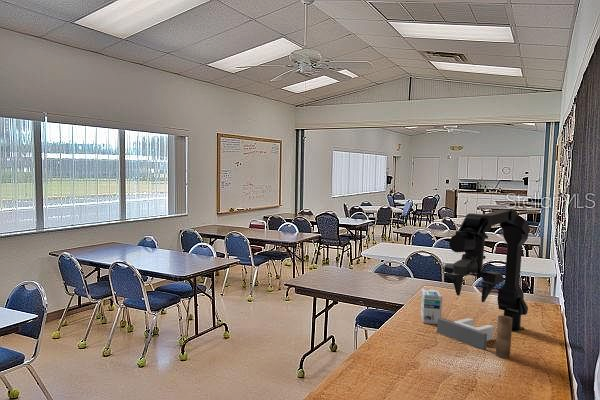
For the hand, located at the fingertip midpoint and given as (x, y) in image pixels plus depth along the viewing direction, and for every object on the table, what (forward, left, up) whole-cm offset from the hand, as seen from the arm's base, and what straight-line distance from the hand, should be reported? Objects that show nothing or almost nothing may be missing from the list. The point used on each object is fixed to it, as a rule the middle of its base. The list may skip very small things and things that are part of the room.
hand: (470, 298), depth 153 cm
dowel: (+1, +13, -14) cm, 20 cm away
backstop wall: (+1, -2, -14) cm, 15 cm away
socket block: (-5, -2, -14) cm, 15 cm away
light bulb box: (-8, -22, -15) cm, 27 cm away
